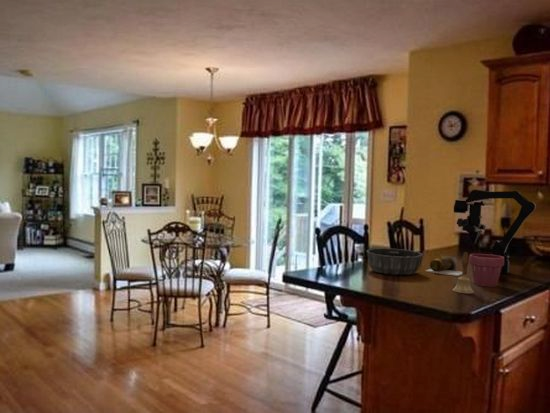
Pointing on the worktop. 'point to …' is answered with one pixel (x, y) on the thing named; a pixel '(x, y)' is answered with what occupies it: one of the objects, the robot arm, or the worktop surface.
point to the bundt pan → (394, 261)
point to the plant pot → (486, 268)
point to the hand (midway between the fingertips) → (473, 244)
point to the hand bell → (464, 278)
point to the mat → (445, 272)
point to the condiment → (444, 263)
